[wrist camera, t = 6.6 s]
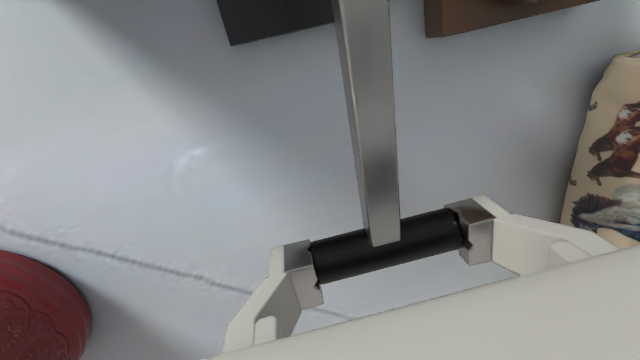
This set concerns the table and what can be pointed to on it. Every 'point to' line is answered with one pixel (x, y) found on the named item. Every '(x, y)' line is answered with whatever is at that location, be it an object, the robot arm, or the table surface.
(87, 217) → the table surface
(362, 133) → the lever
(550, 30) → the table surface
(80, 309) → the kitchen canister
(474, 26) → the control block
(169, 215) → the table surface
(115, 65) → the table surface
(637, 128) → the pencil case
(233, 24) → the bracket
